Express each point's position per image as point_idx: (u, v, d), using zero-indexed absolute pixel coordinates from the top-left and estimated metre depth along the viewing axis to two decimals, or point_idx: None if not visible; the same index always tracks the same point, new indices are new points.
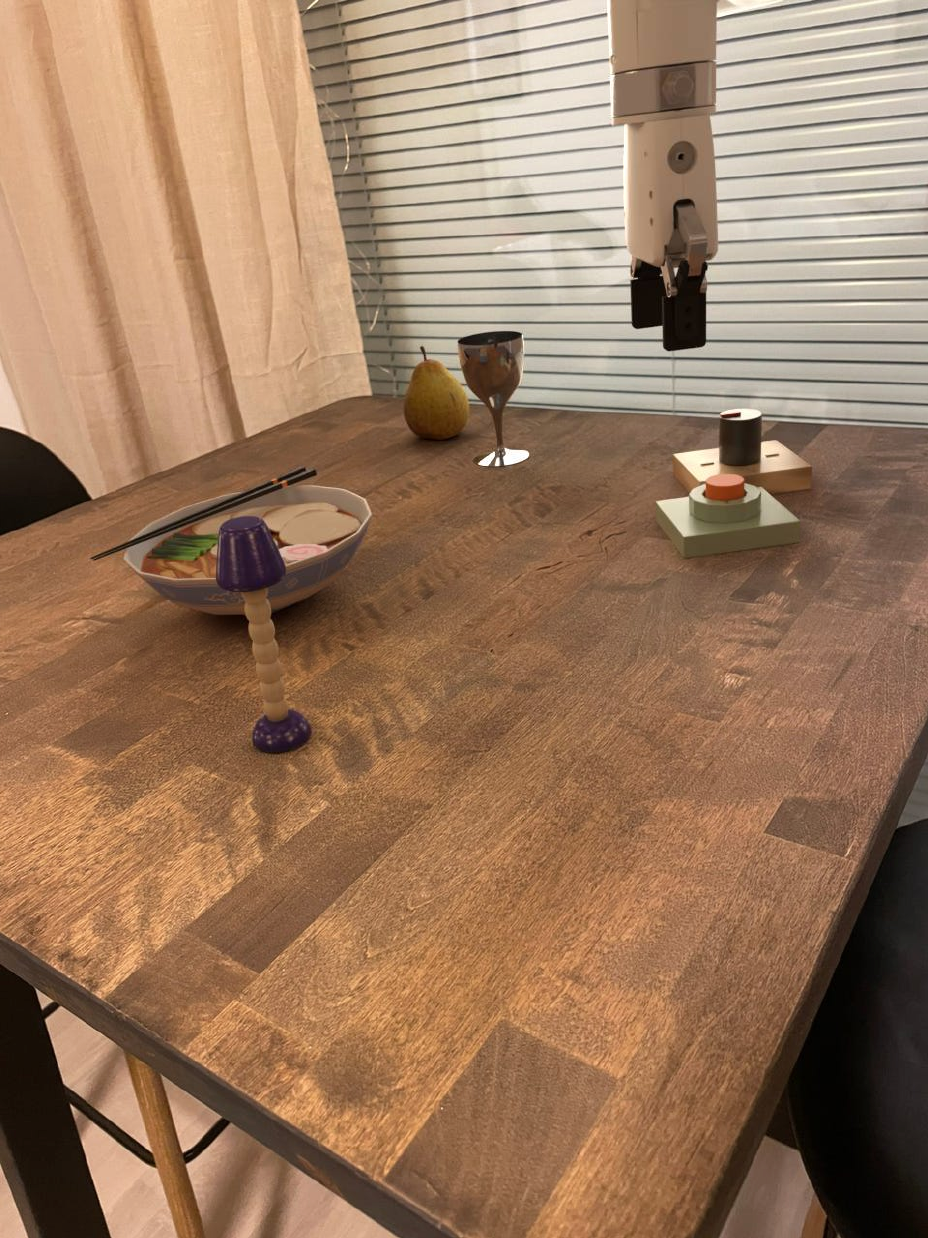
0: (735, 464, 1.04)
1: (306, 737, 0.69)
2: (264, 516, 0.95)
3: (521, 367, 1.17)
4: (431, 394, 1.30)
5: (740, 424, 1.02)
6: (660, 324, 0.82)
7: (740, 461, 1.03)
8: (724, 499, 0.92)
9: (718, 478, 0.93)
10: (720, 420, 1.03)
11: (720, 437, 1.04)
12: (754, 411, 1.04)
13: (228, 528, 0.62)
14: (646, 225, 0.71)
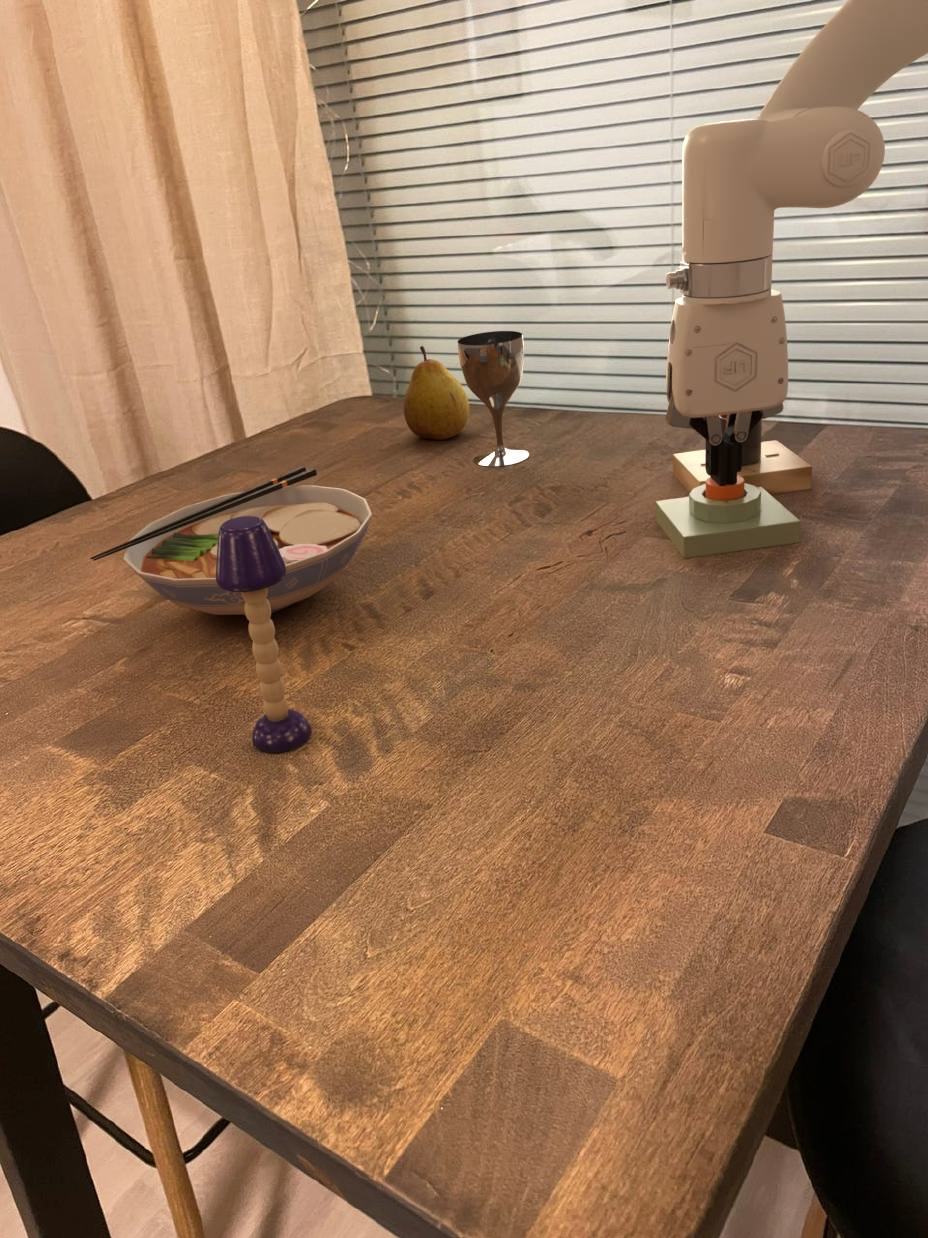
0: None
1: (306, 737, 0.69)
2: (264, 516, 0.95)
3: (521, 367, 1.17)
4: (431, 394, 1.30)
5: None
6: (727, 481, 0.92)
7: None
8: (724, 499, 0.92)
9: None
10: (720, 420, 1.03)
11: None
12: None
13: (228, 528, 0.62)
14: None
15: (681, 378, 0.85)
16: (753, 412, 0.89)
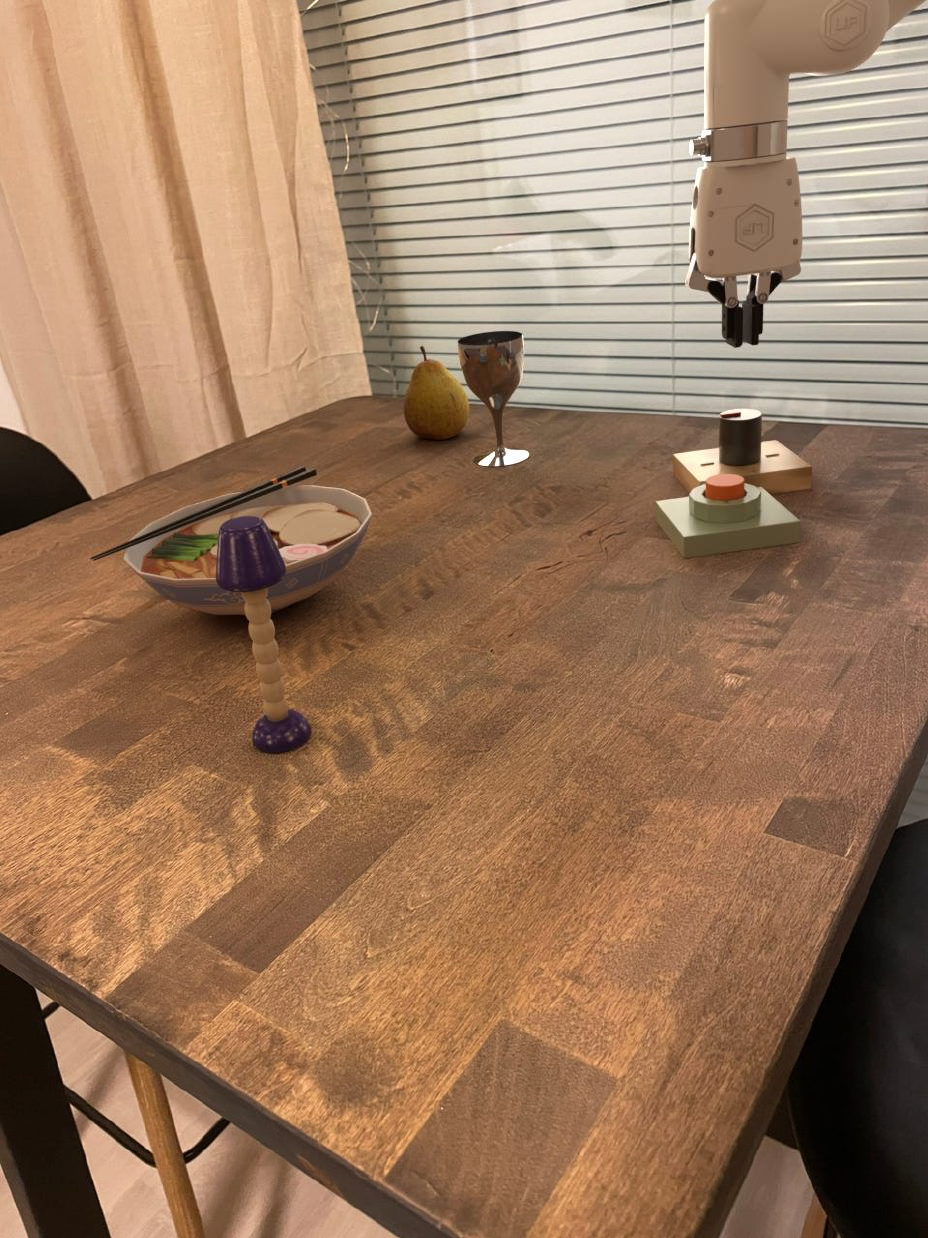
0: (735, 464, 1.04)
1: (306, 737, 0.69)
2: (264, 516, 0.95)
3: (521, 367, 1.17)
4: (431, 394, 1.30)
5: (740, 424, 1.02)
6: (749, 343, 0.99)
7: (740, 461, 1.03)
8: (724, 499, 0.92)
9: (718, 478, 0.93)
10: (720, 420, 1.03)
11: (720, 437, 1.04)
12: (754, 411, 1.04)
13: (228, 528, 0.62)
14: None
15: (704, 239, 0.93)
16: (773, 275, 0.96)
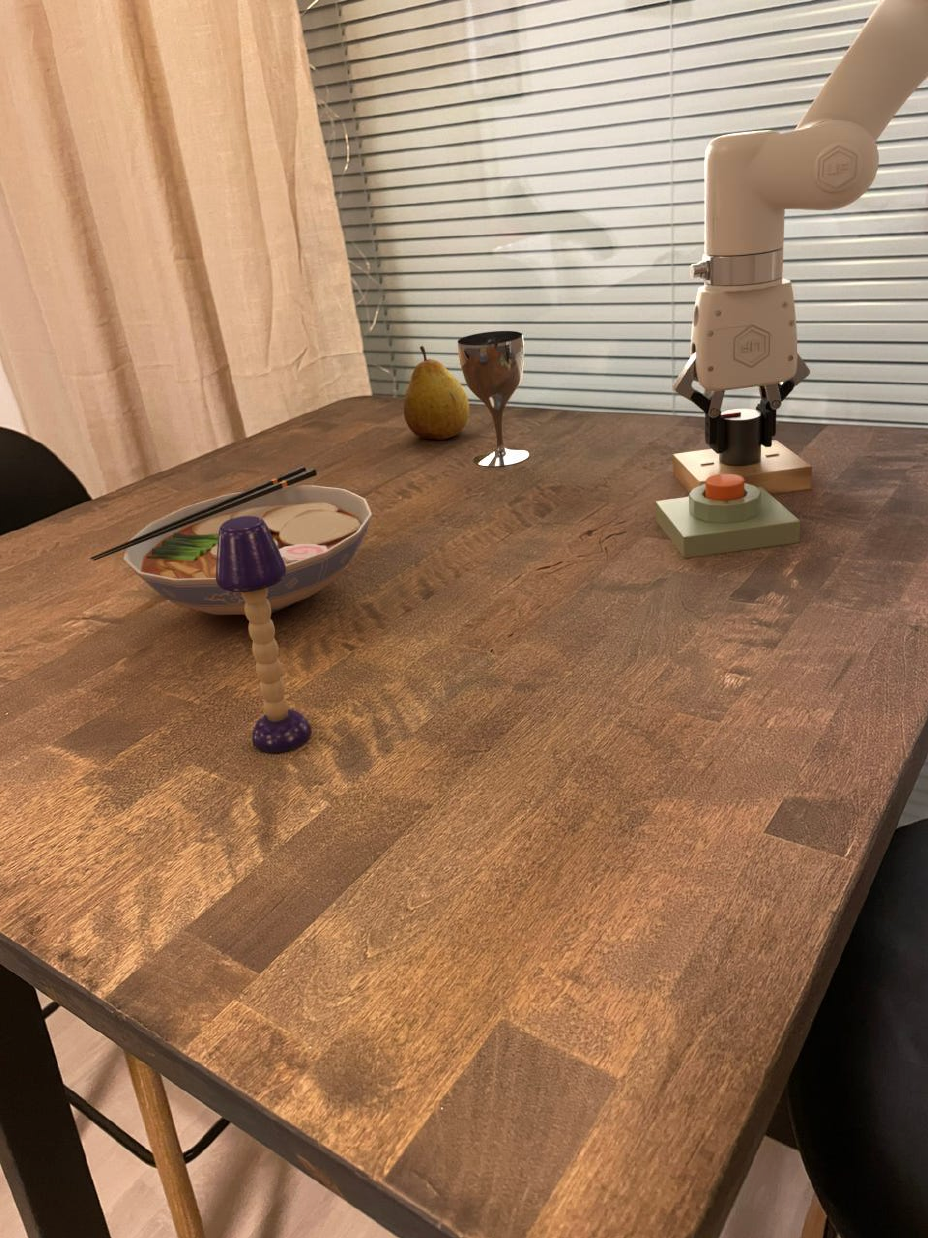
0: (735, 464, 1.04)
1: (306, 737, 0.69)
2: (264, 516, 0.95)
3: (521, 367, 1.17)
4: (431, 394, 1.30)
5: (740, 424, 1.02)
6: (762, 444, 1.04)
7: (740, 461, 1.03)
8: (724, 499, 0.92)
9: (718, 478, 0.93)
10: None
11: None
12: (754, 411, 1.04)
13: (228, 528, 0.62)
14: None
15: (704, 356, 0.98)
16: (786, 383, 1.01)
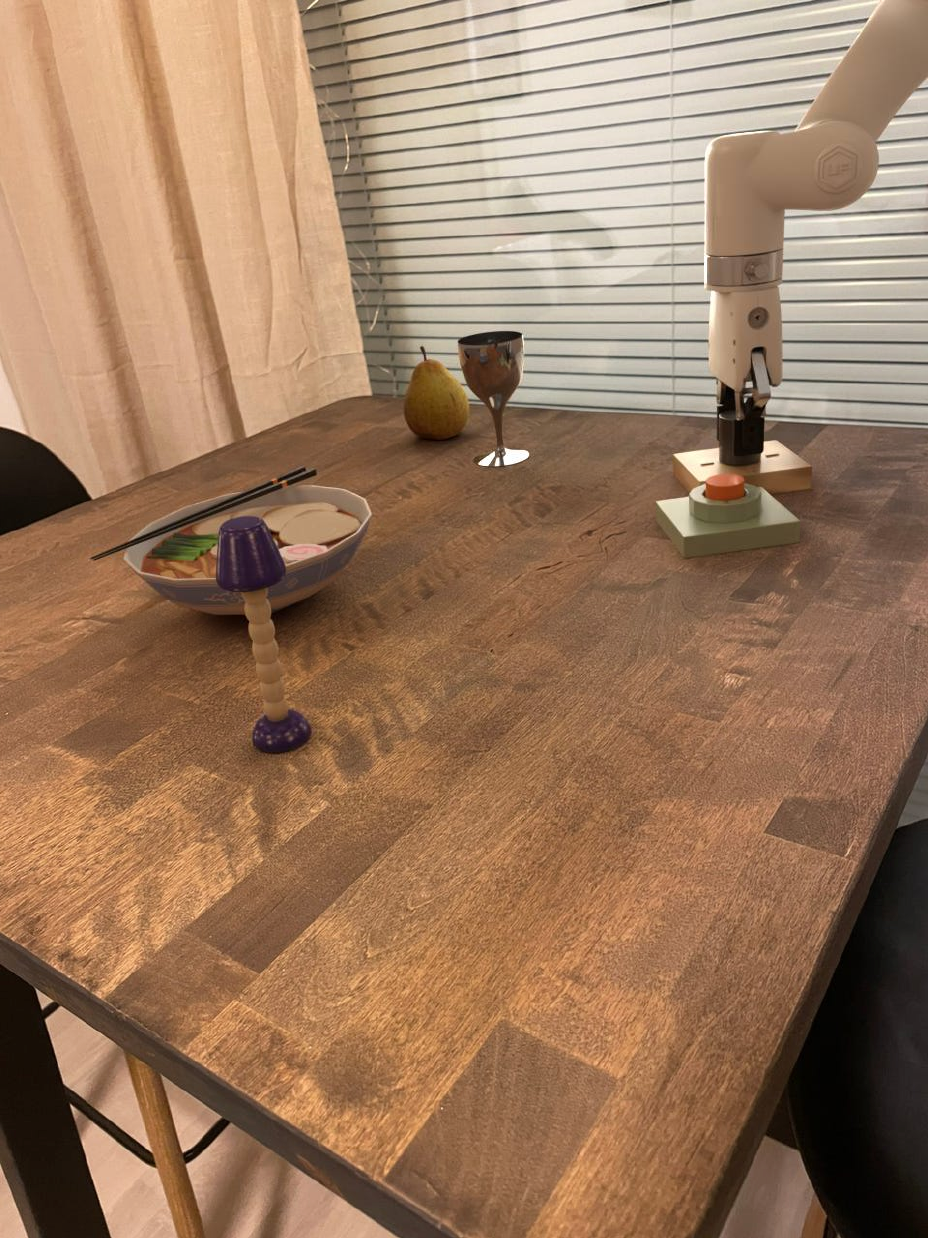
0: (760, 458, 1.04)
1: (306, 737, 0.69)
2: (264, 516, 0.95)
3: (521, 367, 1.17)
4: (431, 394, 1.30)
5: None
6: None
7: (760, 454, 1.05)
8: (724, 499, 0.92)
9: (718, 478, 0.93)
10: None
11: None
12: (732, 410, 1.05)
13: (228, 528, 0.62)
14: (729, 361, 0.98)
15: None
16: None
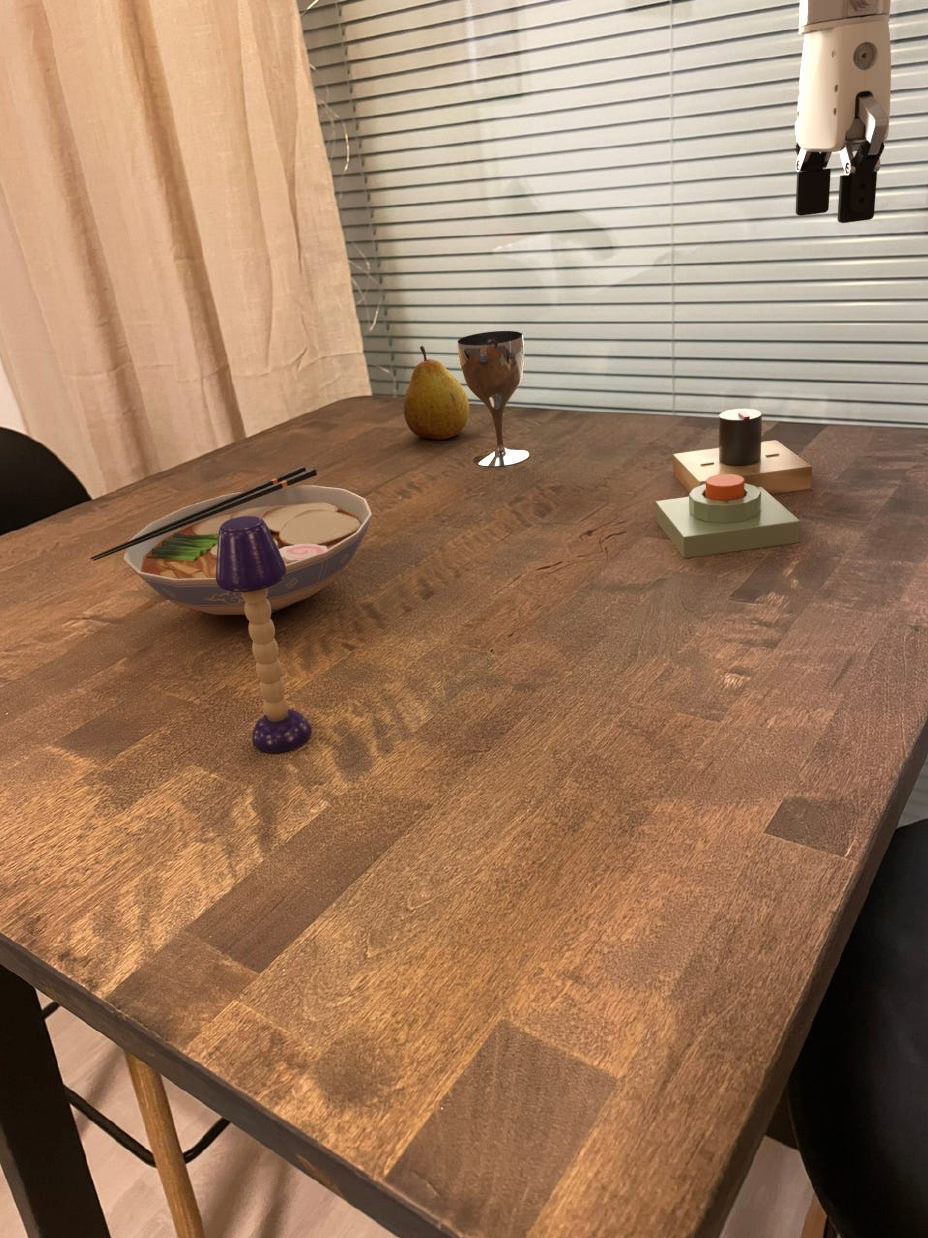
0: (760, 458, 1.04)
1: (306, 737, 0.69)
2: (264, 516, 0.95)
3: (521, 367, 1.17)
4: (431, 394, 1.30)
5: (761, 417, 1.03)
6: (820, 211, 0.97)
7: (760, 454, 1.05)
8: (724, 499, 0.92)
9: (718, 478, 0.93)
10: (747, 423, 1.01)
11: (747, 440, 1.02)
12: (732, 410, 1.05)
13: (228, 528, 0.62)
14: (828, 115, 0.87)
15: None
16: None
